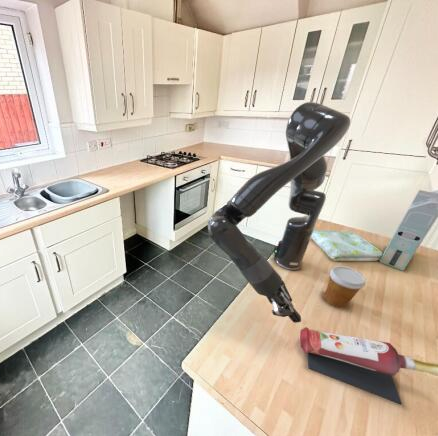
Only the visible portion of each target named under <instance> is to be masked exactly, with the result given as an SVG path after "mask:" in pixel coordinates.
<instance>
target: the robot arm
mask: <svg viewBox="0 0 438 436" xmlns="http://www.w3.org/2000/svg"><path fill="white" fill-rule="evenodd" d="M351 121H352V120H351V117H349V115H347V114H345V113H343V112H341V111H339V110H336V109H334V108H331V107H330V106H326V105H324V104H321V103H318V102H315V101H307V102H304V103H301V104H300V105H299V106H297V107H296V108H295V109H294V110H293V112H291V114H290V116H289V118H288V121H287V123H286V127H285V139H286V140H285V141H286V143H287V148H288V154H289V160H287V161H286V162H283V163H281V164H278V165H276V166H273V167H270V168H268V169H266V170H263V171H260V172H258V173H257V174H254V175H253V176H251V177H250V178H249V179H248V180H247V181H246V182H245V183H244V184H243V185H242V186H241V187H240V188H239V189H238V190H237V191H236V193H235V194H233V196H232V197H231V198H230V199H229V200H228V201H226V202H225V203H223V205H222V206H220V207H219V208H218V209H217V210H216V211H215V212H213V214H212V215H211V216H210V217H209V219H208V222H207V229H208V235H209V236H210V239H211V240H212V241H213V242H214V243H215V244H216V245H217V247H219V249H220V250H221V251H223V253H225V254H226V255H227V256H228V257H229V259H230V260H231V262H232V263H233V264H234V265H235V266H236V268H237V269H238V270H239V271H240V273H241V275H242V276H243V277H244V278H245V280H246V281H247V283H249V285H250V286H251V287H252V289H253V290H254V291H255V292H256V293H257V294H258V295H260V296H264V297H266V299H267V301H268V302H269V303H270V304H271V305H272V306H273V309H272V310H271V313H272V315H274V316H277V317H281V318H285V317H288V318H289V319H290V320H291V322H292V323H294V324H296V323H301V322H302V316H301V315H300V313H299V312H298V311H297V310H296V308H294V304H293V298H292V296H291V294H290V292H289V289H288V288H287V286H286V283H285V281H284V280H283V278H282V277H281V276H280V275H279V273H278V272H277V270H276V269H275V267H273V266H272V264H271V263H270V262H269V261H268V260H267V258H266V257H264V256H263V255H262V254H261V253H260V251H259V250H258V249H257V247H256V246H255V245H254V244H253V243H252V242H251V241H250V240H249V239H247V238H246V236H245V235H244V233H243V232H242V231H241V230H240V228H239V227H238V225H239V223H241V222H242V221H243V220H244V219H247V218H250V217H252V216H254V215H255V214H256V213H258V211H259V210H260V209H261V208H262V207H264V205H265V204H266V203H267V202H268V201H269V200H270V199H271V198H272V197H274V196H275V194H277V193H278V192H279V191H280V190H281V189H283V188H284V187H285V186H286V185H288V184H290V190H289V197H288V209H289V210H290V211H292V212H293V213H298V214H301V215H305V216H293V217H290V218H288V219H287V221H286V225H285V228H284V232H283V234H282V237H281V240H279V241H278V244H277V245H276V246H274V248H273V251H272V252H273V254H274V256H273V260H274V261H275V262H276V264H277V265H278V266H279V267H281V268H283V269H285V270H289V271H296V270H300V269H301V266H302V262H303V260H304V258H305V254H306V252H307V249H308V247H309V244H310V241H311V239H312V238H311V236H312V233H313V232H314V231H315V227H316V224H317V221H318V219H319V217H320V214H321V212H322V210H323V207H324V205H325V203H326V198H327V196H326V193H325V192H323V191H319V190H317V189H318V188H320V187H321V186H322V185H323V184H324V182H325V180H326V176H327V171H328V162H327V159H326V157H325V155H326V154H328V153H329V152H330V151H331V150H332V149H333V148H335V146H336V145H338V144H339V142H341V140H342V139H343V138H344V137H345V135H346V134H347V132H348V131H349V128H350V127H351Z"/></svg>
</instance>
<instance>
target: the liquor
mask: <svg viewBox="0 0 438 436" xmlns="http://www.w3.org/2000/svg"><path fill="white" fill-rule="evenodd" d="M299 333H300V334H299V342H300V343H299V344H300V348H301V349H302V350H303V351H304V353H305V354H308V353H314V354H318V355H322V356H325V357H329V358H333V359H336V360H340V361H343V362H347V363H350V364H353V365H357V366H360V367H363V368H367V369H370V370H374V371H378V372H381V373H385V374H388V375H392V377H394V376H395V375H397V374H398V373H399V372H400V369H403V370H404V369H406V370H411V371H417V372H421V373H422V372H424V373H427V374H430V375H434V376H437V377H438V363H437V362H433V361H432V362H430V361H423V360H420V359H417V358H414V357H410V356H406V355H403V354H400V353H398V352H399V351H397V349H396V348H395V347H394V346H393V344H392V343H390V342H386V341H380V340H374V339H368V338H363V337H356V336H349V335H344V334H343V335H342V334H337V333H331V332H325V331H320V330H314V329H309V327H307V326H305V327H303V328H302V329H300V332H299Z"/></svg>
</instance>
